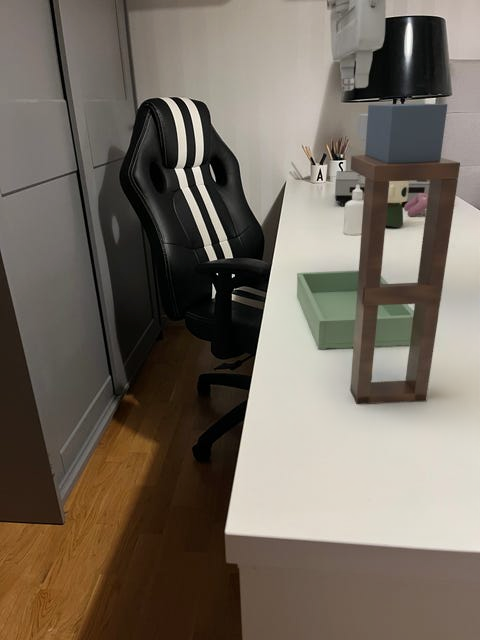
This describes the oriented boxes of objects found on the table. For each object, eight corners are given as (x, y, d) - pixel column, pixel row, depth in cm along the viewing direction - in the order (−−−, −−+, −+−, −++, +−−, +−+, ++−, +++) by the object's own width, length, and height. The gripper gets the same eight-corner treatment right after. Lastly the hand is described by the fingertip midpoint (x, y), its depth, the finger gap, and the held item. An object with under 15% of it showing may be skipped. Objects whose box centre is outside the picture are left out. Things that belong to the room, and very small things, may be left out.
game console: (441, 208, 151) (445, 180, 148) (334, 207, 157) (335, 180, 154) (431, 195, 170) (434, 170, 167) (335, 195, 176) (336, 171, 173)
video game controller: (420, 222, 141) (435, 200, 138) (406, 215, 141) (420, 192, 138) (415, 215, 150) (429, 194, 147) (402, 208, 150) (415, 187, 147)
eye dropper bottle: (344, 230, 129) (347, 183, 124) (367, 232, 127) (370, 183, 123) (342, 234, 125) (344, 186, 121) (365, 236, 124) (368, 186, 119)
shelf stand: (399, 362, 65) (424, 153, 54) (426, 400, 57) (460, 162, 46) (338, 365, 65) (351, 155, 54) (356, 404, 57) (375, 165, 46)
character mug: (401, 232, 126) (407, 179, 121) (373, 230, 129) (377, 178, 124) (406, 222, 135) (412, 173, 130) (379, 221, 138) (384, 172, 133)
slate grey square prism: (387, 147, 62) (391, 103, 60) (440, 161, 47) (447, 104, 45) (347, 148, 62) (349, 104, 60) (387, 163, 47) (392, 105, 45)
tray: (373, 292, 88) (375, 269, 86) (415, 345, 69) (419, 316, 68) (296, 296, 88) (297, 272, 86) (318, 349, 69) (319, 321, 67)
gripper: (401, -37, 63) (393, 84, 68) (363, -2, 82) (359, 90, 87) (351, -34, 63) (347, 87, 68) (325, 0, 82) (323, 92, 87)
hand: (353, 89), depth 78 cm, fingers open, 8 cm apart
